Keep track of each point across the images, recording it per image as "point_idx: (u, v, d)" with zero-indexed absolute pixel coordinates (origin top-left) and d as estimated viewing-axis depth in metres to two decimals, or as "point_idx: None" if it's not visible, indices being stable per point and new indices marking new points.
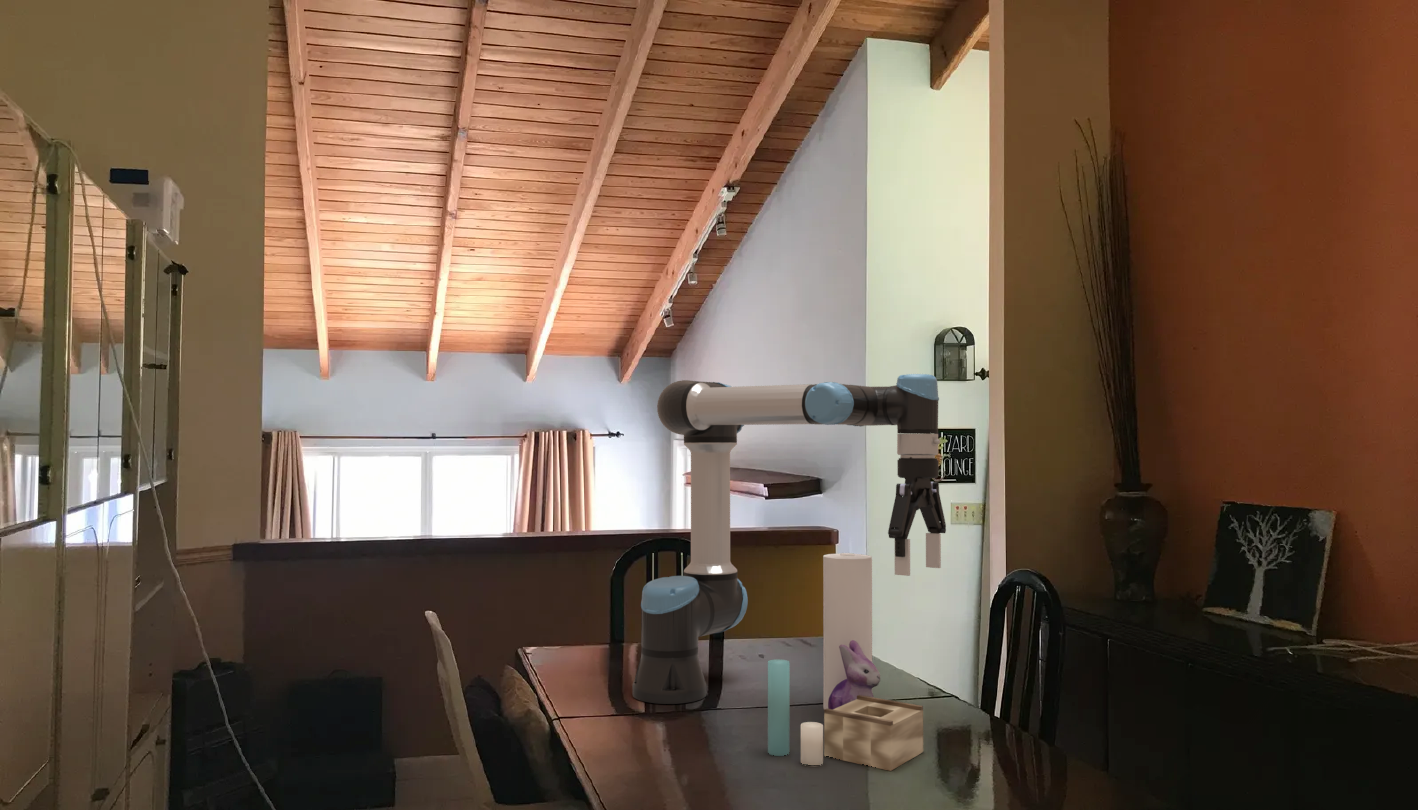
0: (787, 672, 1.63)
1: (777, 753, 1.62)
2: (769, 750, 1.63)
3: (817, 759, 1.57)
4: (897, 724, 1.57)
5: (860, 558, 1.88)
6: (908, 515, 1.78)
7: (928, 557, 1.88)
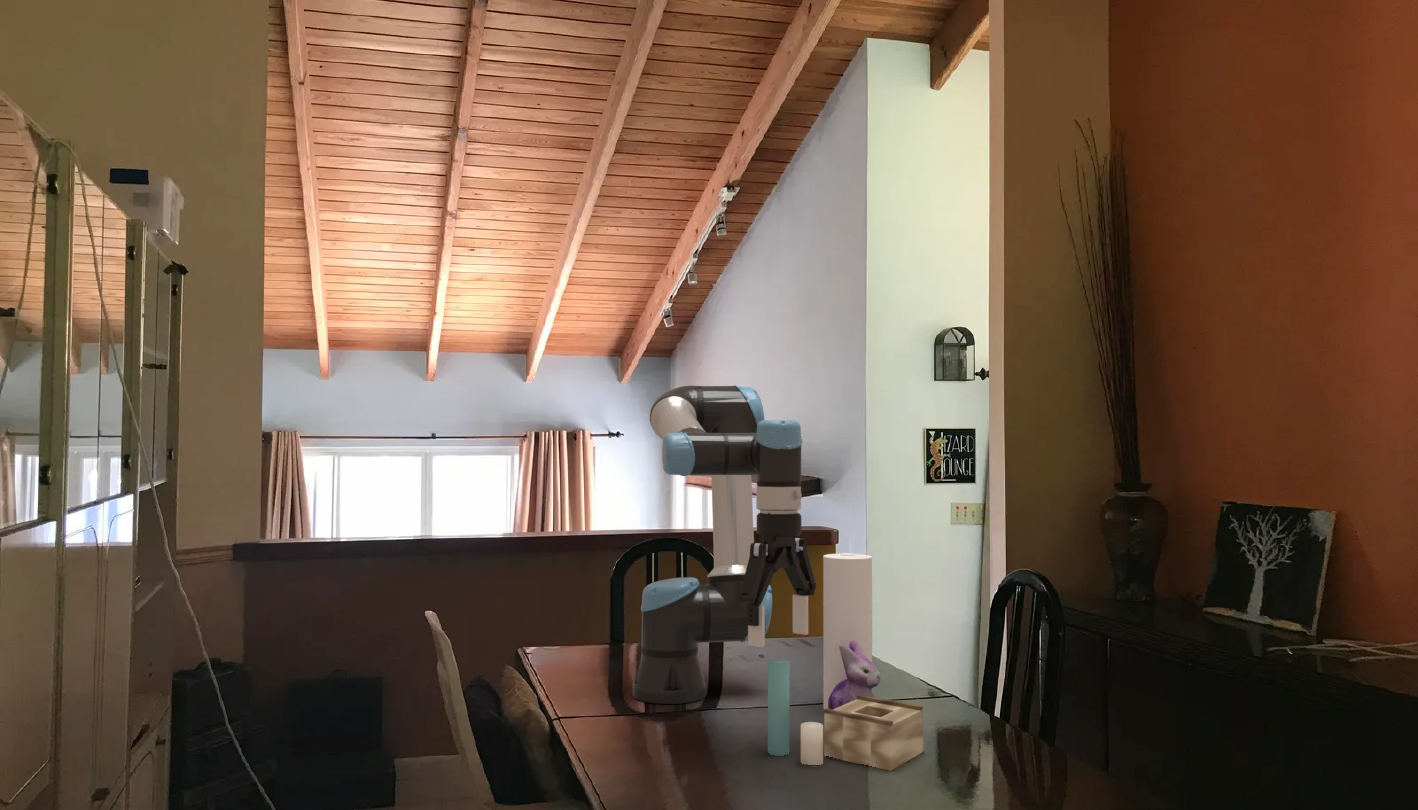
0: (787, 672, 1.63)
1: (777, 753, 1.62)
2: (769, 750, 1.63)
3: (817, 759, 1.57)
4: (897, 724, 1.57)
5: (860, 558, 1.88)
6: (763, 578, 1.60)
7: (795, 621, 1.70)
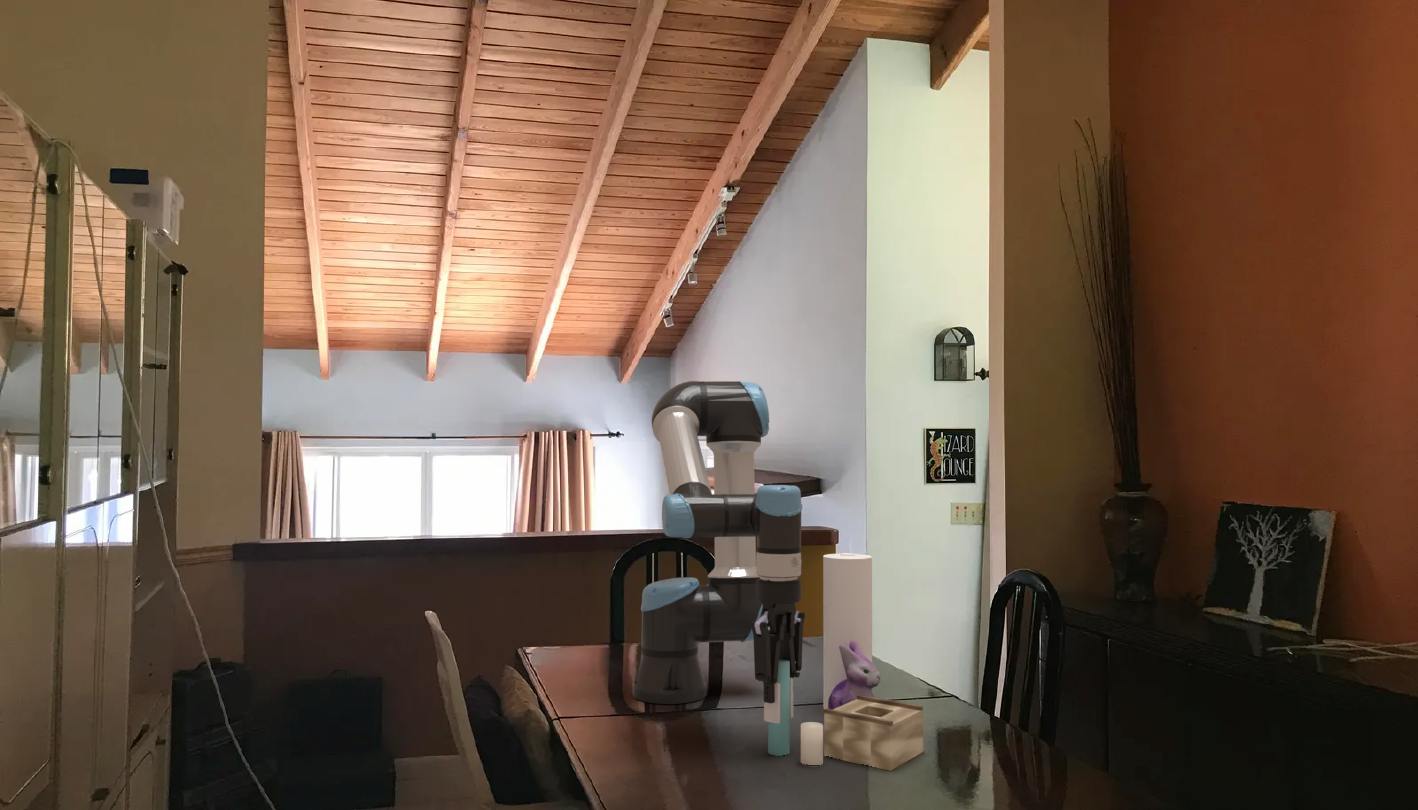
0: (787, 672, 1.63)
1: (777, 753, 1.62)
2: (769, 750, 1.63)
3: (817, 759, 1.57)
4: (897, 724, 1.57)
5: (860, 558, 1.88)
6: (772, 654, 1.61)
7: None
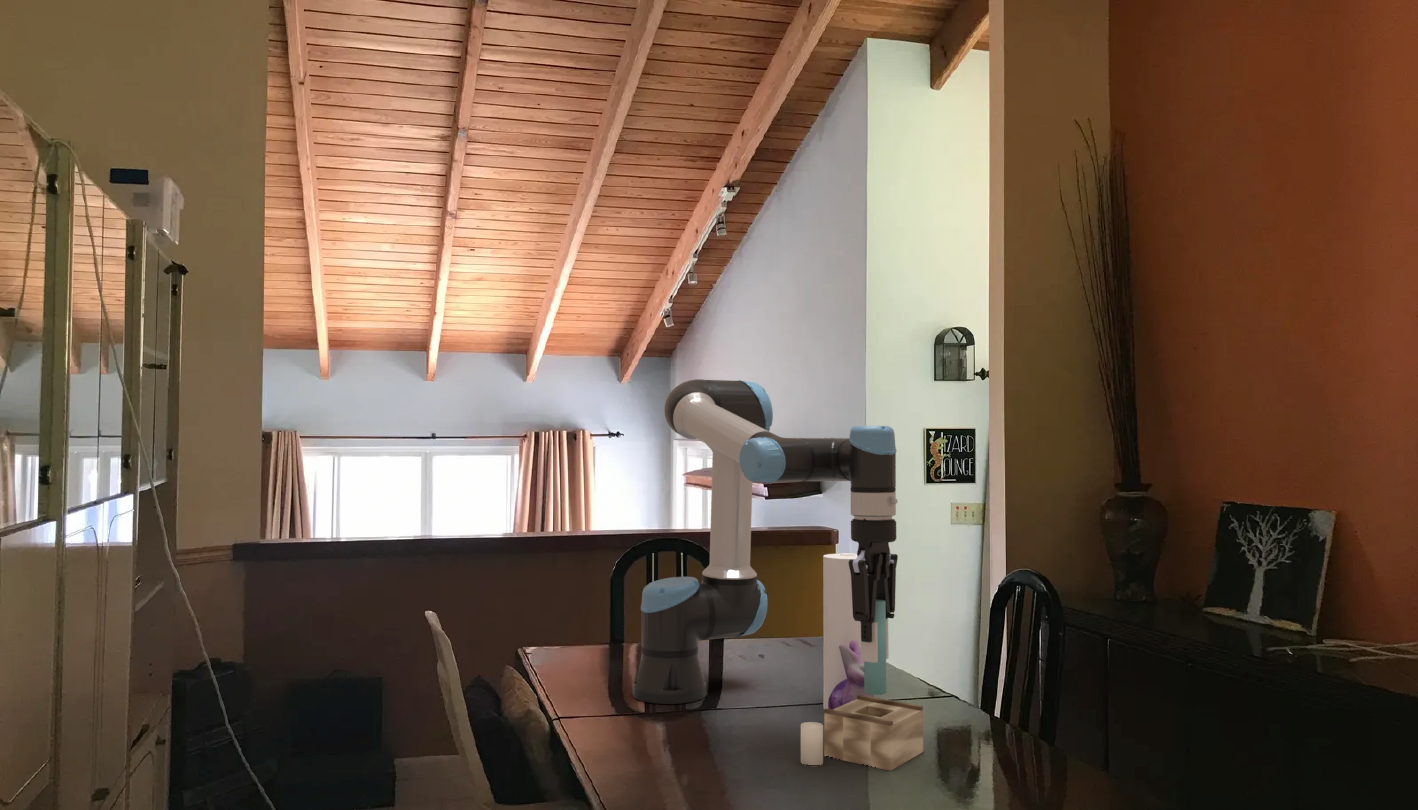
0: (884, 611, 1.62)
1: (875, 692, 1.61)
2: (866, 689, 1.62)
3: (817, 759, 1.57)
4: (897, 724, 1.57)
5: None
6: (869, 593, 1.61)
7: None
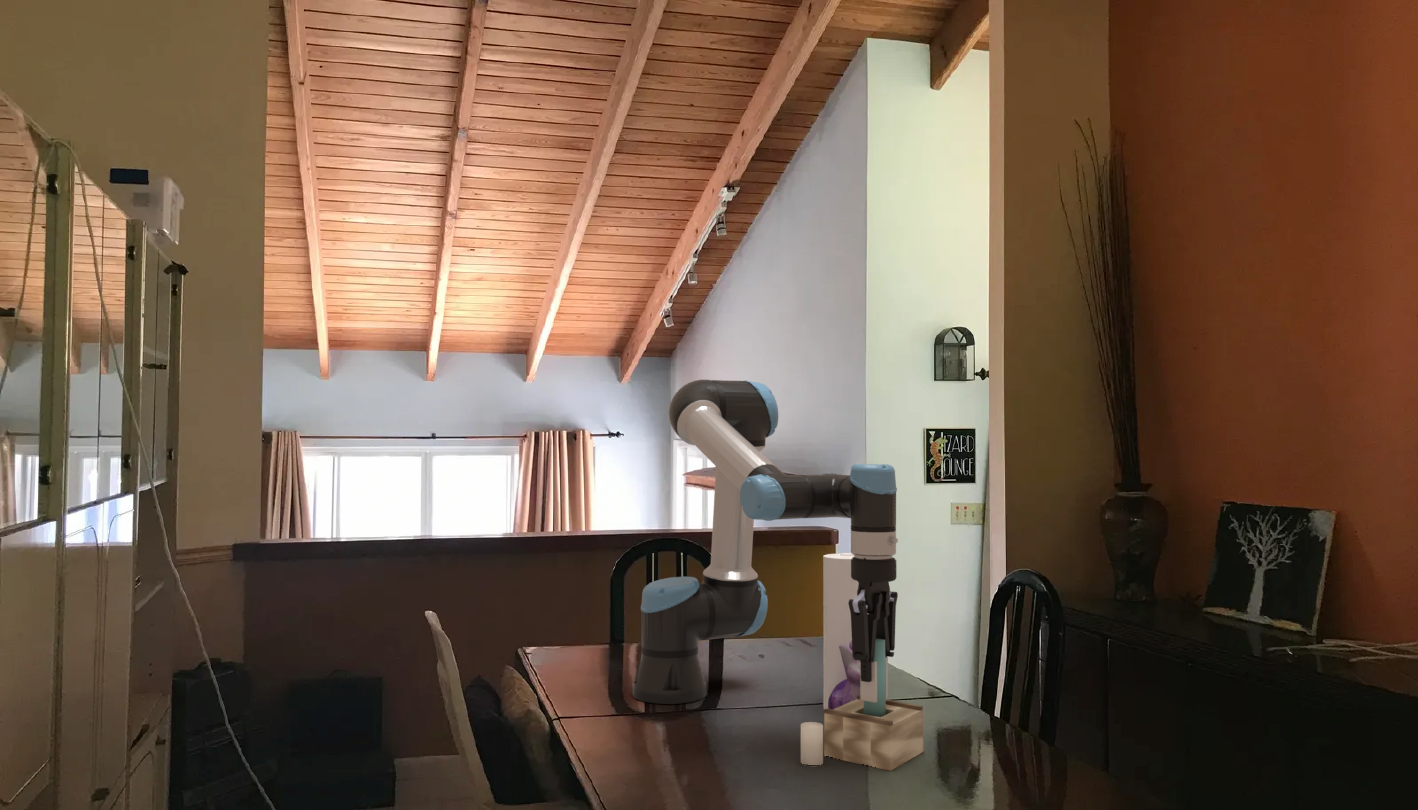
0: (883, 650, 1.62)
1: None
2: None
3: (817, 759, 1.57)
4: (897, 724, 1.57)
5: None
6: (869, 632, 1.61)
7: None
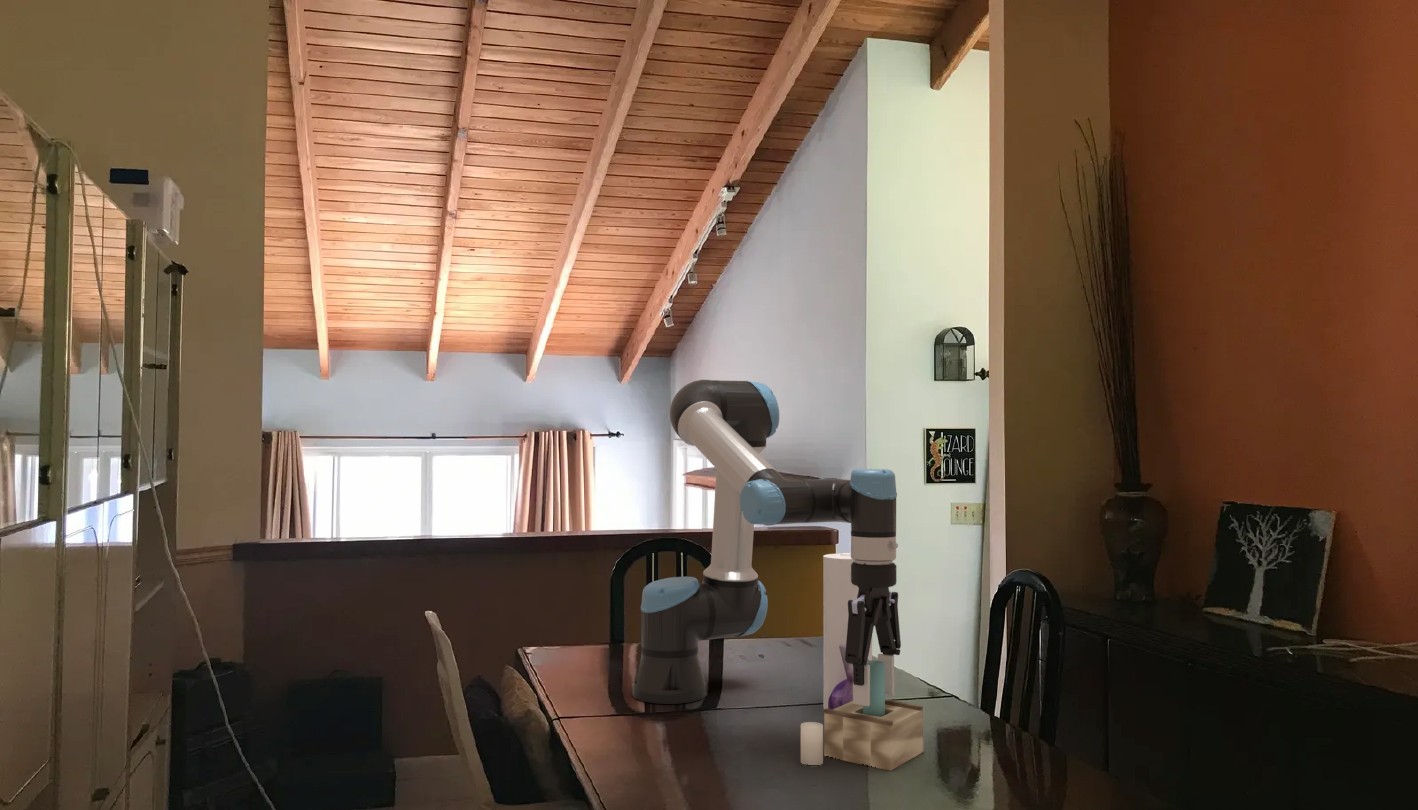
0: (883, 673, 1.62)
1: None
2: None
3: (817, 759, 1.57)
4: (897, 724, 1.57)
5: None
6: (865, 635, 1.60)
7: None
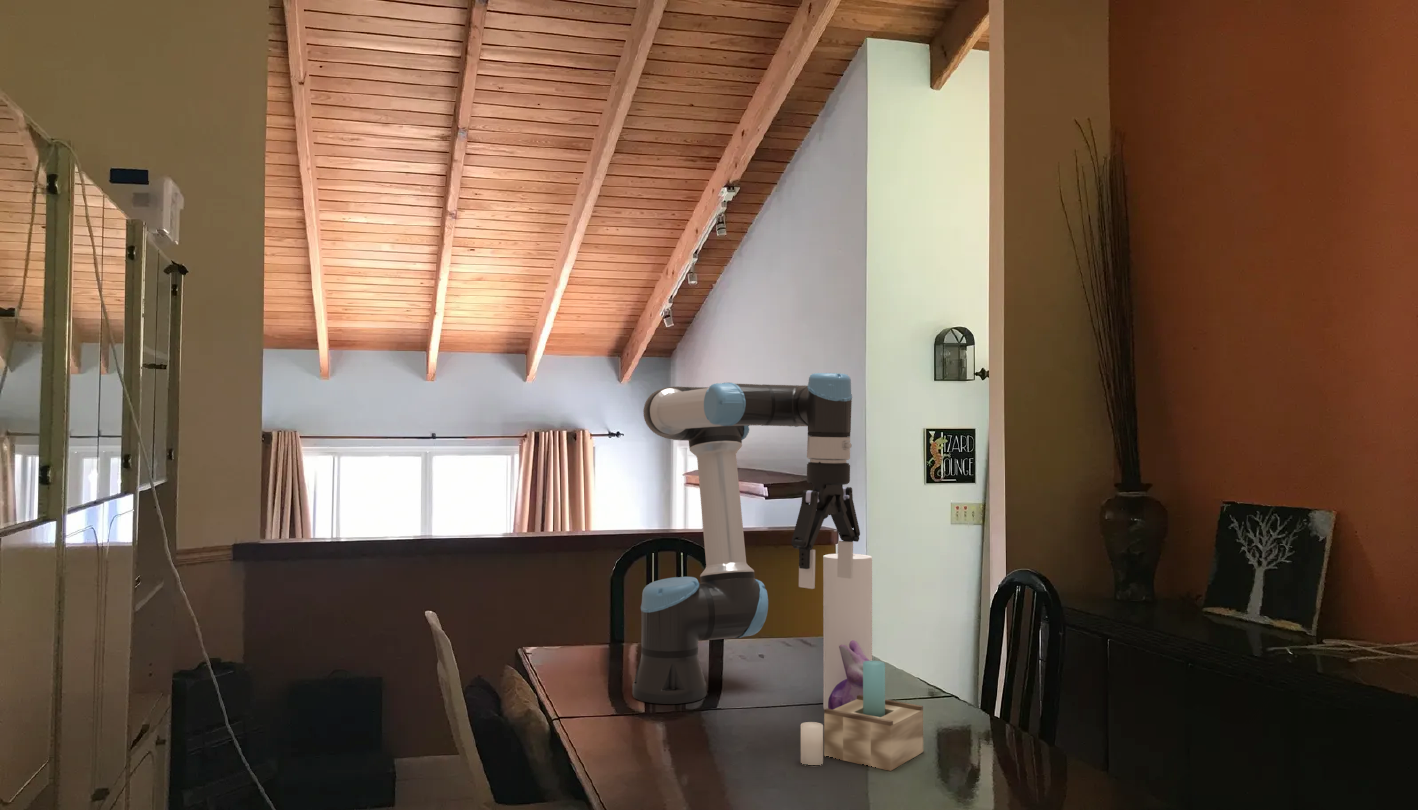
0: (883, 673, 1.62)
1: None
2: None
3: (817, 759, 1.57)
4: (897, 724, 1.57)
5: (860, 558, 1.88)
6: (814, 524, 1.67)
7: (840, 566, 1.78)
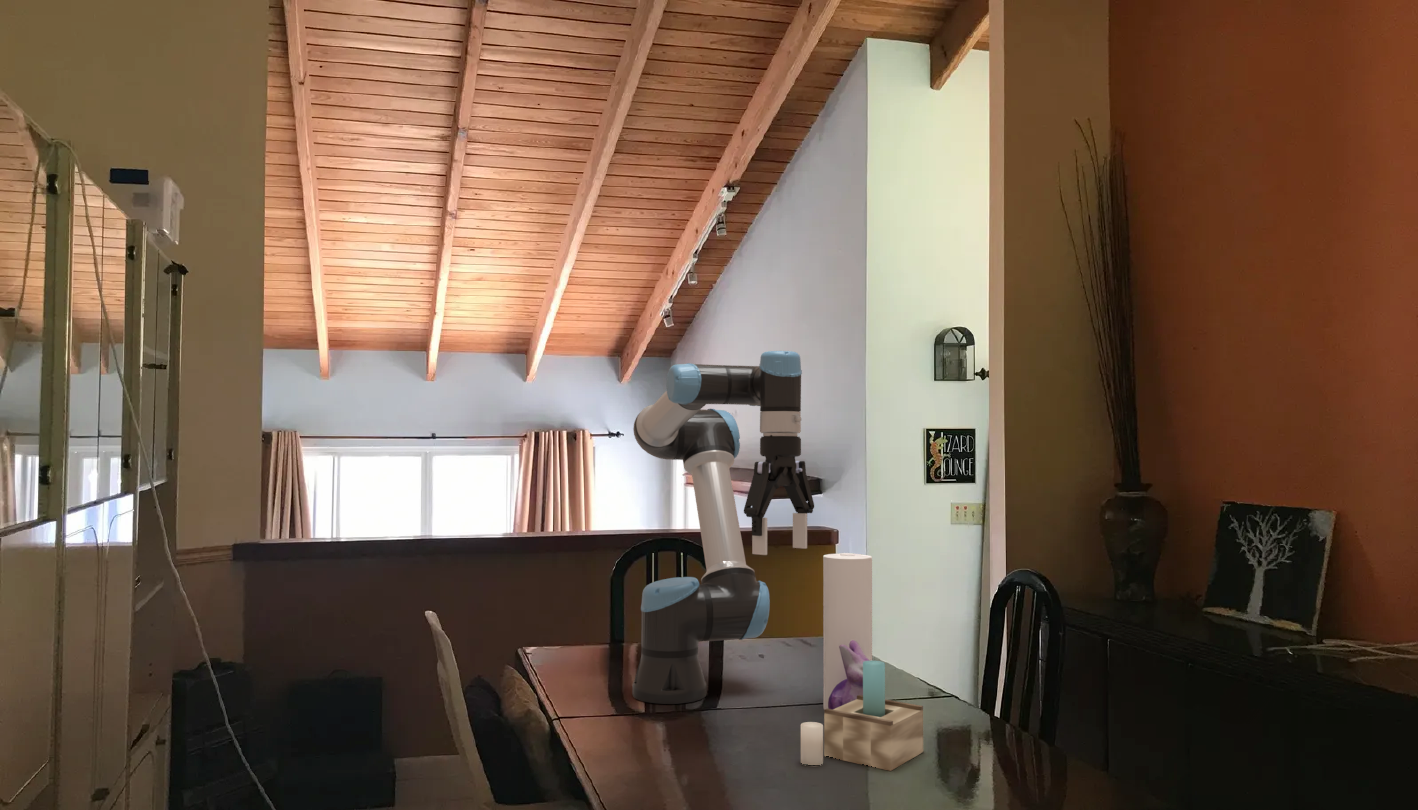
0: (883, 673, 1.62)
1: None
2: None
3: (817, 759, 1.57)
4: (897, 724, 1.57)
5: (860, 558, 1.88)
6: (766, 493, 1.75)
7: (795, 537, 1.86)
